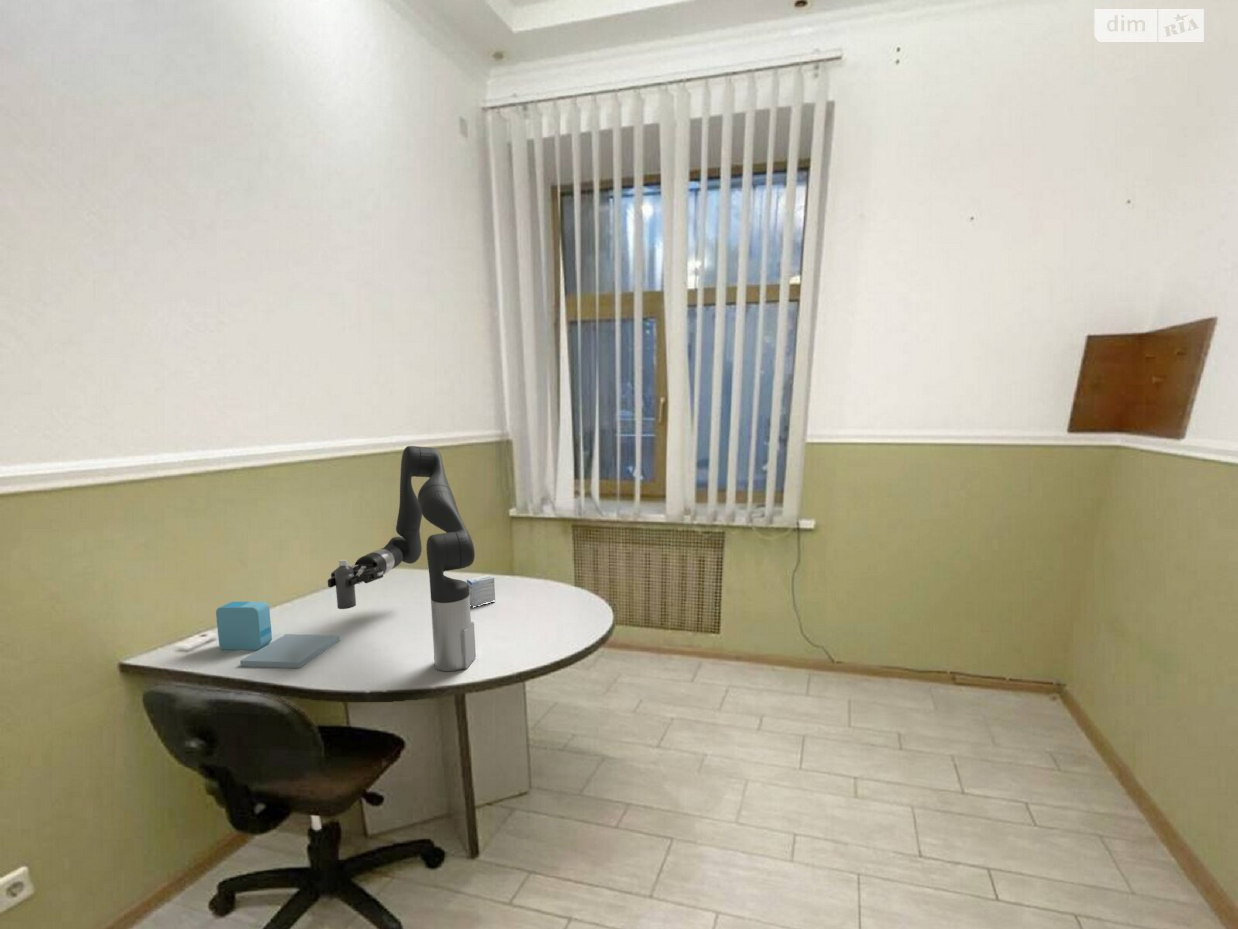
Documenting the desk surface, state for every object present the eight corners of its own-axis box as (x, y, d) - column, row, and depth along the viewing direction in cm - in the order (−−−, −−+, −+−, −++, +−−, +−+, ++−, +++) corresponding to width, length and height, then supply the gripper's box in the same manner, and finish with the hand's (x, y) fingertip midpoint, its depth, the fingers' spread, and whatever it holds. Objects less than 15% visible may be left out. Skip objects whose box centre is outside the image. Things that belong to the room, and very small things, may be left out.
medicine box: (489, 599, 179) (488, 574, 178) (495, 602, 175) (494, 577, 175) (467, 605, 174) (466, 579, 173) (473, 608, 170) (472, 582, 170)
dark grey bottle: (359, 603, 143) (356, 558, 142) (349, 609, 139) (345, 562, 137) (344, 602, 144) (340, 558, 142) (333, 609, 139) (330, 562, 138)
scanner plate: (339, 640, 148) (339, 635, 148) (299, 668, 132) (299, 662, 132) (286, 639, 150) (286, 634, 150) (240, 666, 134) (240, 660, 134)
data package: (273, 643, 147) (269, 601, 146) (260, 650, 143) (257, 607, 142) (232, 642, 148) (228, 601, 147) (219, 650, 144) (214, 607, 143)
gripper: (351, 552, 155) (311, 569, 138) (397, 552, 153) (362, 570, 137) (353, 577, 156) (313, 597, 139) (399, 577, 154) (365, 598, 137)
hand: (338, 583), depth 138 cm, fingers closed on dark grey bottle, 4 cm apart
